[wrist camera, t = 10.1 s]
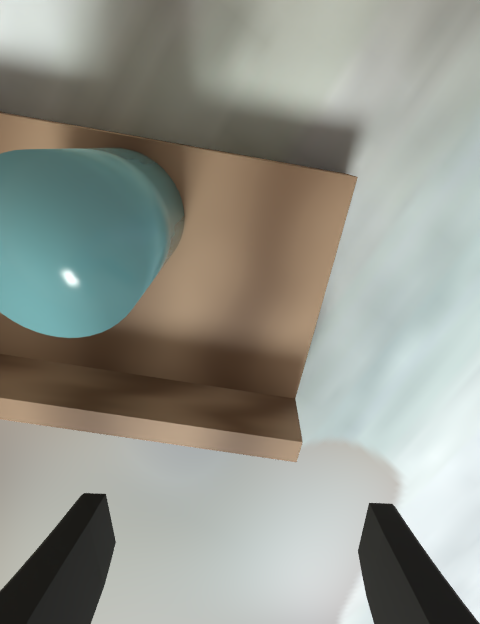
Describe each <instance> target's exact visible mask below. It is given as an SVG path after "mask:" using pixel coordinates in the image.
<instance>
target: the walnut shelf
mask: <svg viewBox="0 0 480 624" xmlns="http://www.w3.org/2000/svg"><path fill="white" fill-rule="evenodd" d="M68 148H125V149H130V150H134V151H136V152H139V153H142V154H144V155H145V156H147V157H149V158H151V159H152V160H154V161H155V162H156V163H158V164H159V165H160V166H161V167H162V168H163V169H164V170H165V171H166V172H167V173H168V175H169V176H170V177H171V179H172V180H173V182H174V183H175V185H176V187H177V189H178V191H179V193H180V196H181V199H182V203H183V207H184V215H185V221H184V230H183V234H182V238H181V240H180V242H179V245H178V246H177V248H176V250H175V251H174V253H173V254H172V255H171V257H170V258H169V259H168V261H167V262H166V264H165V265H164V266H163V268H162V269H161V270H160V272H159V273H158V275H157V276H156V277H155V279H154V280H153V281H152V283H151V284H150V286H149V287H148V288H147V290H146V291H145V292H144V294H143V295H142V297H141V298H140V299H139V301H138V302H137V303H136V305H135V306H134V308H133V309H132V310H131V311H130V312H129V314H128V315H127V316H126V317H125V318H124V319H123V320H121V321H120V322H119V323H118V324H116V325H115V326H113V327H112V328H110V329H108V330H106V331H103V332H101V333H98V334H95V335H91V336H86V337H80V338H64V337H55V336H50V335H45V334H42V333H38V332H35V331H33V330H30V329H28V328H25V327H23V326H21V325H19V324H18V323H16V322H14V321H12V320H11V319H9V318H8V317H6V316H5V315H3V314H2V313H1V312H0V419H3V420H9V421H16V422H23V423H30V424H37V425H44V426H51V427H57V428H65V429H72V430H78V431H86V432H92V433H99V434H106V435H113V436H120V437H126V438H133V439H140V440H147V441H154V442H161V443H168V444H175V445H181V446H189V447H195V448H202V449H209V450H216V451H223V452H230V453H237V454H243V455H250V456H257V457H265V458H271V459H278V460H285V461H292V462H297V458H298V455H299V452H300V449H301V446H302V436H301V430H300V425H299V419H298V413H297V407H296V401H295V397H296V394H297V390H298V387H299V383H300V380H301V376H302V373H303V369H304V365H305V362H306V358H307V355H308V351H309V348H310V344H311V341H312V337H313V334H314V330H315V326H316V323H317V319H318V316H319V312H320V309H321V305H322V302H323V298H324V294H325V291H326V287H327V284H328V280H329V277H330V273H331V270H332V266H333V262H334V259H335V255H336V252H337V248H338V245H339V241H340V238H341V234H342V231H343V227H344V223H345V220H346V216H347V213H348V209H349V206H350V202H351V199H352V195H353V191H354V188H355V184H356V181H357V177H355V176H352V175H349V174H345V173H340V172H334V171H328V170H323V169H317V168H312V167H306V166H300V165H295V164H289V163H284V162H278V161H272V160H267V159H261V158H255V157H250V156H244V155H239V154H233V153H227V152H222V151H216V150H211V149H205V148H199V147H194V146H188V145H183V144H177V143H171V142H166V141H160V140H155V139H149V138H143V137H138V136H132V135H127V134H121V133H115V132H110V131H104V130H98V129H93V128H87V127H82V126H76V125H70V124H65V123H59V122H54V121H48V120H42V119H37V118H31V117H26V116H20V115H14V114H9V113H3V112H0V154H1V153H4V152H8V151H13V150H24V149H68Z"/></svg>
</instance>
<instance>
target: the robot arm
mask: <svg viewBox="0 0 480 624" xmlns="http://www.w3.org/2000/svg"><path fill="white" fill-rule="evenodd" d="M114 547H115V536H114V532H113V527H112V522H111V517H110V513H109V507H108V503H107V498H106V494H90V493H84V494H83V495H81V496H80V498H79V499H78V500H77V501H76V502H75V504H74V505H73V506H72V507H71V509H70V510H69V511H68V512H67V514H66V515H65V516H64V517H63V519H62V520H61V521H60V523H59V524H58V525H57V526H56V527H55V529H54V530H53V531H52V532H51V533H50V534H49V536H48V537H47V538H46V539H45V540H44V542H43V543H42V544H41V545H40V546H39V548H38V549H37V550H36V551H35V552H34V553H33V555H32V556H31V557H30V558H29V559H28V560H27V561H26V563H25V564H24V565H23V566H22V567H21V569H20V570H19V571H18V572H17V573H16V574H15V575H14V576H13V578H12V579H11V580H10V581H9V582H8V583H7V584H6V585H5V586H4V588H3V589H2V590H1V591H0V624H91V621H92V618H93V615H94V613H95V610H96V607H97V604H98V602H99V599H100V596H101V593H102V590H103V588H104V585H105V581H106V577H107V573H108V570H109V566H110V562H111V558H112V555H113V551H114ZM358 554H359V559H360V565H361V570H362V576H363V581H364V586H365V591H366V596H367V599H368V603H369V607H370V610H371V614H372V617H373V621H374V624H479V622H478V621H477V620H476V618H475V617H474V616H473V615H472V613H471V612H470V611H469V609H468V608H467V607H466V606H465V604H464V603H463V602H462V600H461V599H460V598H459V596H458V595H457V594H456V592H455V591H454V590H453V588H452V587H451V586H450V584H449V583H448V582H447V580H446V579H445V578H444V576H443V575H442V574H441V572H440V571H439V570H438V568H437V567H436V565H435V564H434V563H433V561H432V560H431V559H430V557H429V556H428V554H427V553H426V551H425V550H424V549H423V547H422V546H421V544H420V543H419V542H418V540H417V539H416V537H415V536H414V534H413V533H412V531H411V530H410V528H409V527H408V526H407V524H406V523H405V521H404V520H403V518H402V517H401V515H400V514H399V512H398V511H397V509H396V508H395V506H394V505H393V504H381V503H369V506H368V510H367V515H366V519H365V523H364V528H363V532H362V536H361V541H360V545H359V549H358Z"/></svg>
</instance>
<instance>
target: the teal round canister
mask: <svg viewBox="0 0 480 624" xmlns="http://www.w3.org/2000/svg"><path fill="white" fill-rule="evenodd" d="M184 221H185V215H184V207H183V203H182V199H181V196H180V193H179V191H178V189H177V187H176V185H175V183H174V182H173V180H172V179H171V177H170V176H169V175H168V173H167V172H166V171H165V170H164V169H163V168H162V167H161V166H160V165H159V164H158V163H156V162H155V161H154V160H152V159H151V158H149V157H147V156H145V155H144V154H142V153H139V152H136V151H134V150H130V149H125V148H68V149H24V150H13V151H8V152H4V153H1V154H0V312H1V313H2V314H3V315H5V316H6V317H8V318H9V319H11V320H12V321H14V322H16V323H18V324H19V325H21V326H23V327H25V328H28V329H30V330H33V331H35V332H38V333H42V334H45V335H50V336H55V337H64V338H80V337H86V336H91V335H95V334H98V333H101V332H103V331H106V330H108V329H110V328H112V327H113V326H115V325H116V324H118V323H119V322H120V321H121V320H123V319H124V318H125V317H126V316H127V315H128V314H129V312H130V311H131V310H132V309H133V308H134V306H135V305H136V303H137V302H138V301H139V299H140V298H141V297H142V295H143V294H144V292H145V291H146V290H147V288H148V287H149V286H150V284H151V283H152V281H153V280H154V279H155V277H156V276H157V275H158V273H159V272H160V270H161V269H162V268H163V266H164V265H165V264H166V262H167V261H168V259H169V258H170V257H171V255H172V254H173V253H174V251H175V250H176V248H177V246H178V245H179V242H180V240H181V238H182V234H183V230H184Z"/></svg>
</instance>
